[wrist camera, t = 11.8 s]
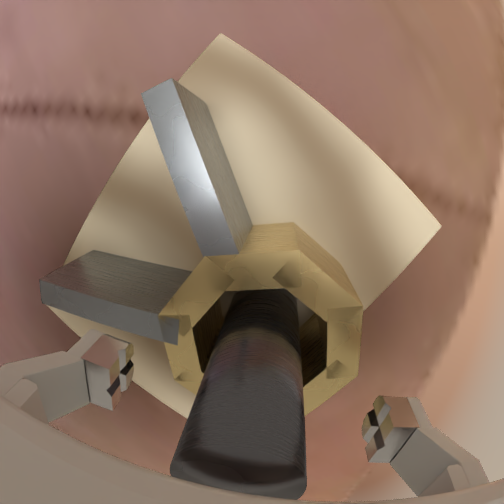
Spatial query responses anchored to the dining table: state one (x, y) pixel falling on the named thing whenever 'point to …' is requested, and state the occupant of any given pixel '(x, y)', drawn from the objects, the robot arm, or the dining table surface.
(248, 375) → the hinge pin
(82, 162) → the dining table surface
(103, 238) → the oak board
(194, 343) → the hinge leaves
